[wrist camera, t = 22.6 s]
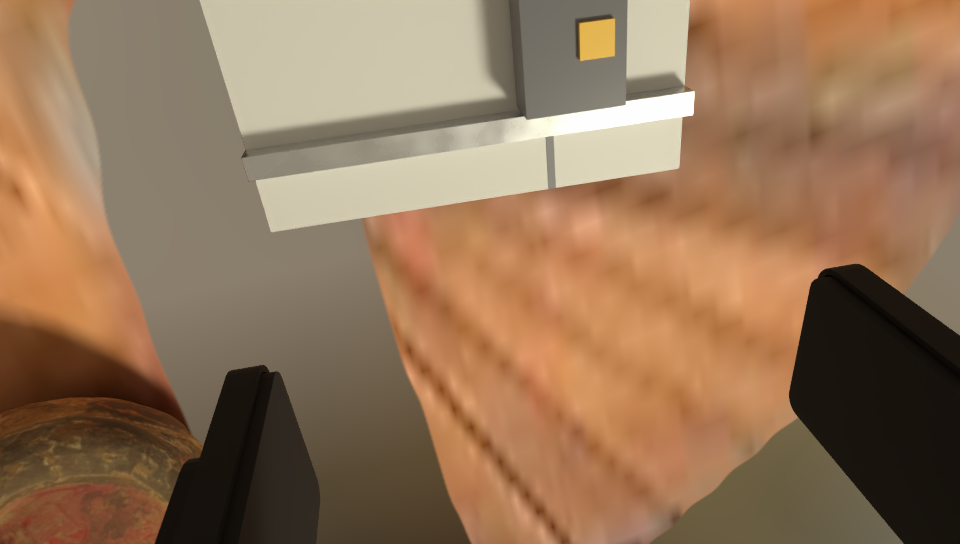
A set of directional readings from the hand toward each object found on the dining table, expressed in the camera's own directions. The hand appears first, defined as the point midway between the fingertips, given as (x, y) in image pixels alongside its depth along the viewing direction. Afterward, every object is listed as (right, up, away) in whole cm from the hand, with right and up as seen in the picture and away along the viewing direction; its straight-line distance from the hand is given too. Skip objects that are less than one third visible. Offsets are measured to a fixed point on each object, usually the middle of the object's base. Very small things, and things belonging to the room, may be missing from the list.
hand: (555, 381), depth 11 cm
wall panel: (-3, +18, +27) cm, 32 cm away
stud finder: (+4, +16, +26) cm, 31 cm away
